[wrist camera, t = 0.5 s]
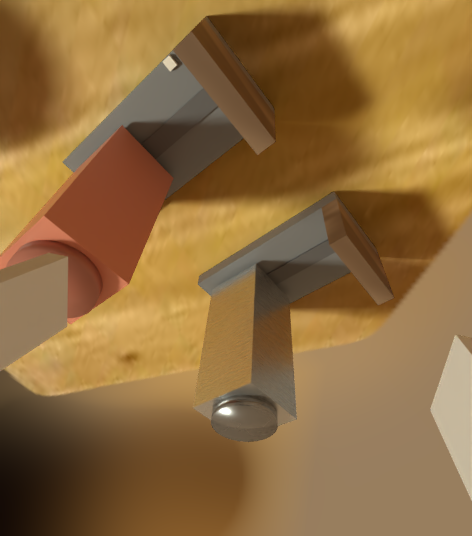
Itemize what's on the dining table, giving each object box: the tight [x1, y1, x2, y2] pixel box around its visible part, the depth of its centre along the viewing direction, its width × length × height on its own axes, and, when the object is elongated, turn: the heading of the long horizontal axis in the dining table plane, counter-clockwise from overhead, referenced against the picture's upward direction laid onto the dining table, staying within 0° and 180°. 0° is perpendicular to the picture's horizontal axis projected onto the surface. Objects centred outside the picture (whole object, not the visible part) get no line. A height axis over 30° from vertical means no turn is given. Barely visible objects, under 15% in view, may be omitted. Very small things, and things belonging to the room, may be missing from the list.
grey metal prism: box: [193, 264, 297, 442], centre depth 31 cm, size 5×5×13 cm
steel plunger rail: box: [198, 192, 394, 305], centre depth 33 cm, size 14×7×6 cm, turn 130°
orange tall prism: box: [0, 125, 174, 324], centre depth 24 cm, size 5×5×13 cm
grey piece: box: [63, 16, 276, 200], centre depth 26 cm, size 14×7×6 cm, turn 130°
